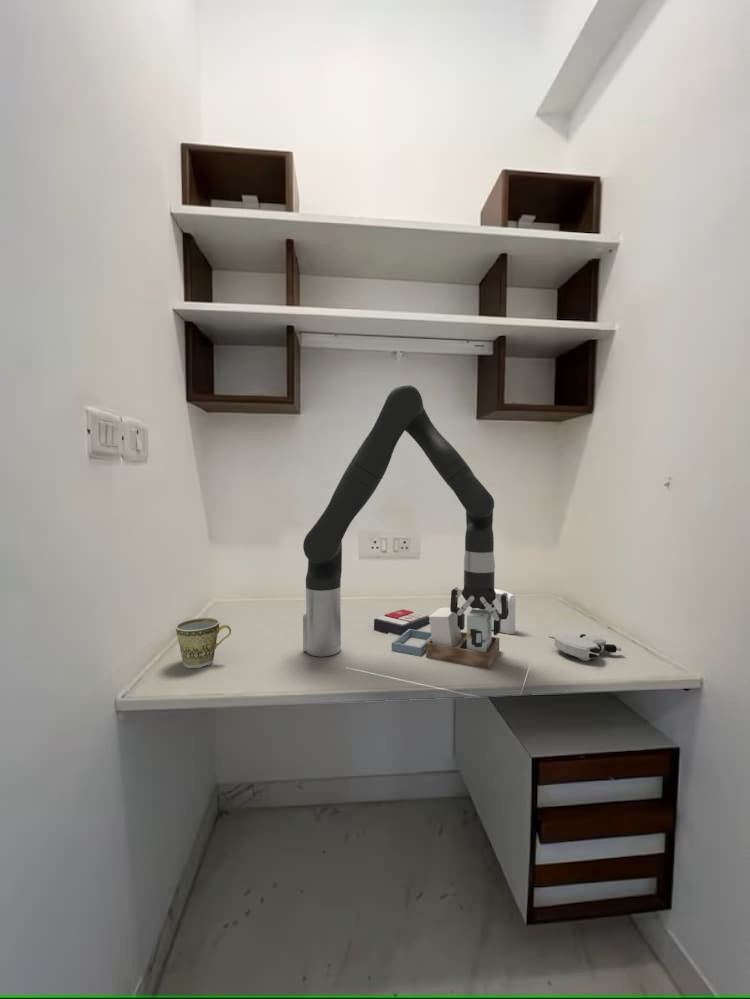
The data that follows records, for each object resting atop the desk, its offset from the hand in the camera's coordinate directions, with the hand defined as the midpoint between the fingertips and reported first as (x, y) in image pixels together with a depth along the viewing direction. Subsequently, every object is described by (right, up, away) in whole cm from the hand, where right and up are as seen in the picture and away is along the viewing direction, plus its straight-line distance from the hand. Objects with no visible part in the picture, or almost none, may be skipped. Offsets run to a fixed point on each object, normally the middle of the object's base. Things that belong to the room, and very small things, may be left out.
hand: (478, 631), depth 108 cm
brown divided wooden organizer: (-4, -7, +2) cm, 8 cm away
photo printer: (+11, -6, +21) cm, 25 cm away
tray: (-16, -7, +8) cm, 19 cm away
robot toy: (+29, -7, +3) cm, 30 cm away
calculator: (-18, -7, +24) cm, 31 cm away
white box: (-7, -6, +4) cm, 10 cm away
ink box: (0, -7, 0) cm, 7 cm away
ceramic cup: (-69, -7, -2) cm, 69 cm away
